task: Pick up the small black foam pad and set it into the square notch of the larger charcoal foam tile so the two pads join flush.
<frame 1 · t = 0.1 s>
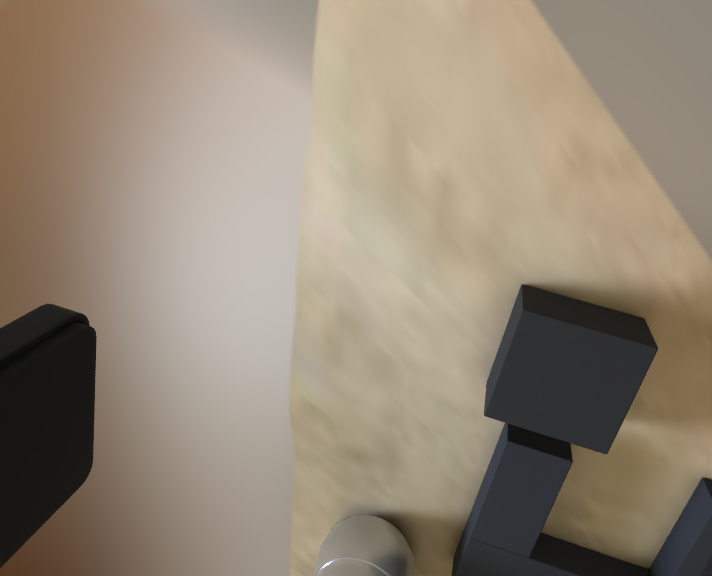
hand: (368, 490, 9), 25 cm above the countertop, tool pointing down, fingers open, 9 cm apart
plastic bottle: (373, 538, 42), on the countertop
black pad: (561, 352, 34), on the countertop
notched tile: (596, 530, 37), on the countertop
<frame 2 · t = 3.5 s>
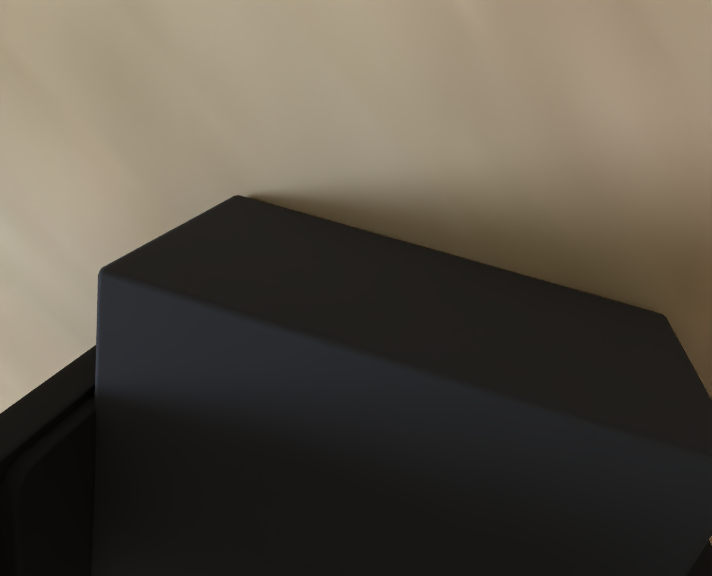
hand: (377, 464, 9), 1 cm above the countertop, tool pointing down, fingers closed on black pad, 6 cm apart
black pad: (390, 425, 10), on the countertop, touching gripper
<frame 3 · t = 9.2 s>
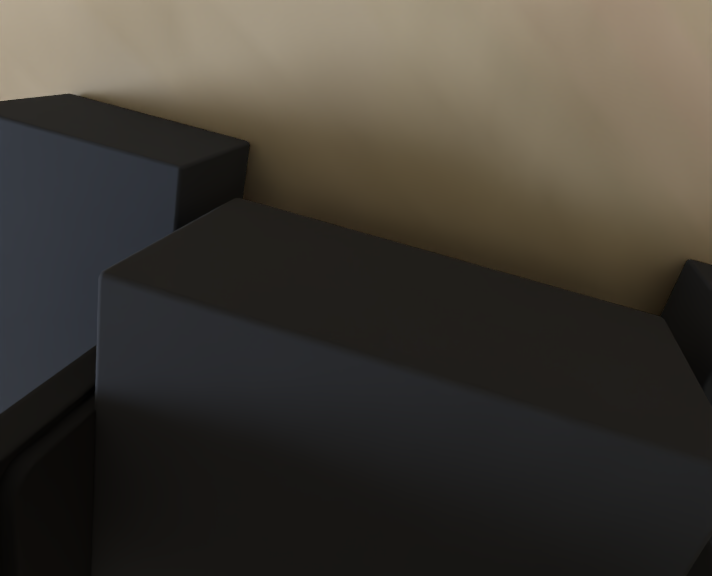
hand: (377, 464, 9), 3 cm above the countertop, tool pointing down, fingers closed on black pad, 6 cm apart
black pad: (389, 427, 10), point 2 cm above the countertop, touching gripper
notched tile: (380, 466, 13), on the countertop
when the fingers open (3 cm above the countertop, at t = 15.9 s): black pad drops 2 cm, on the countertop.
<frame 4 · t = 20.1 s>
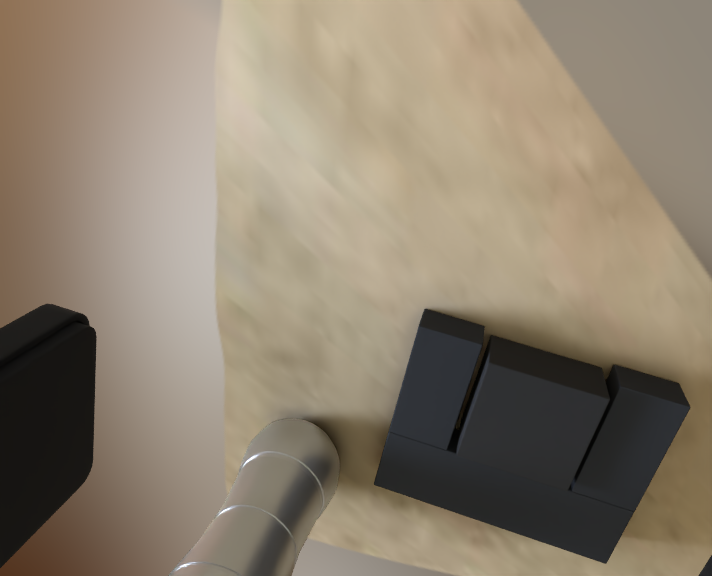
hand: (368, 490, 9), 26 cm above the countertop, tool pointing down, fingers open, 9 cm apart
plastic bottle: (304, 445, 43), on the countertop
black pad: (527, 396, 37), on the countertop
notched tile: (516, 425, 38), on the countertop
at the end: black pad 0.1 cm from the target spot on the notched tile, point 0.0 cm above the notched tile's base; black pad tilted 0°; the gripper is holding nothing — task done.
